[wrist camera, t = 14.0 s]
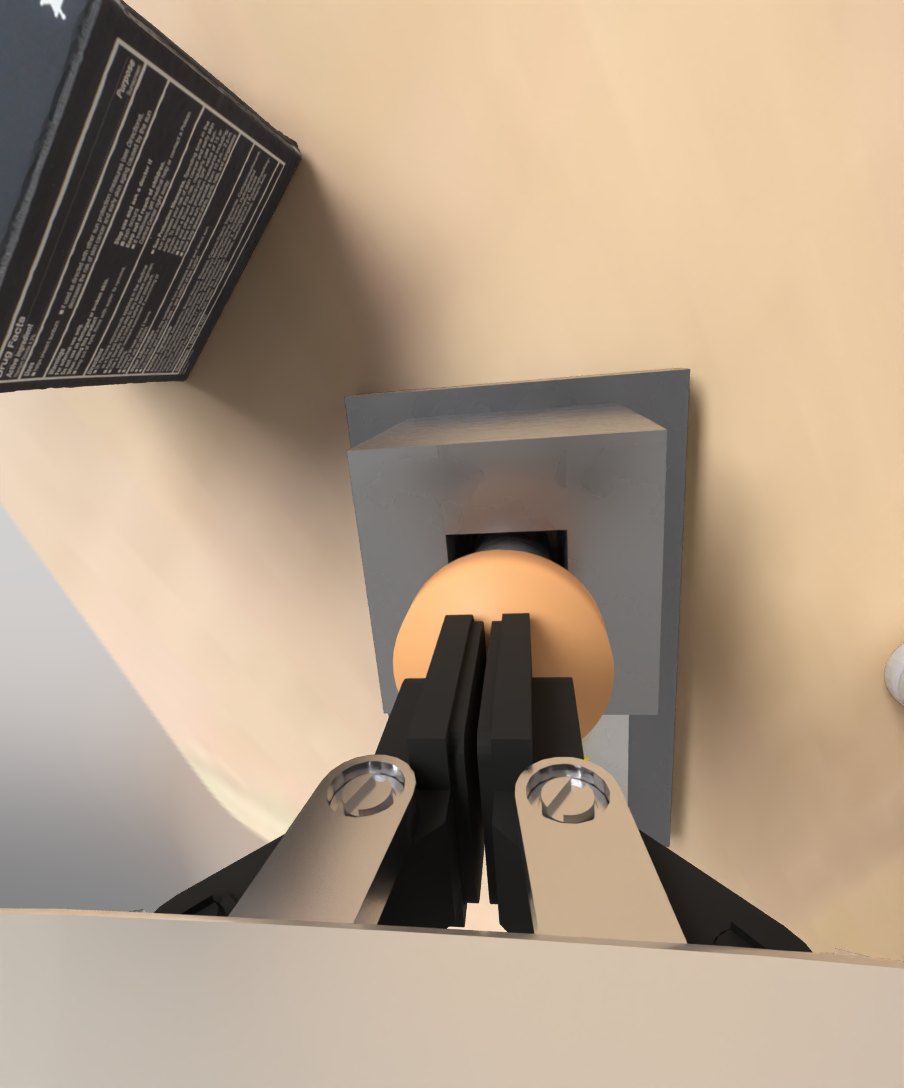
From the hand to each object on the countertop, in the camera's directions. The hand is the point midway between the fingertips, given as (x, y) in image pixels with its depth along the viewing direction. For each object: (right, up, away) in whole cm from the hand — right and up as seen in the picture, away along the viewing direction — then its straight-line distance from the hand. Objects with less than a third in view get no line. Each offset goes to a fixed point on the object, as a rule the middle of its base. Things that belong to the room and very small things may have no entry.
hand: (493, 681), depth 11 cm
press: (+2, -1, +15) cm, 15 cm away
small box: (-12, +16, +11) cm, 23 cm away
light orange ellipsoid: (+1, +3, +7) cm, 8 cm away
